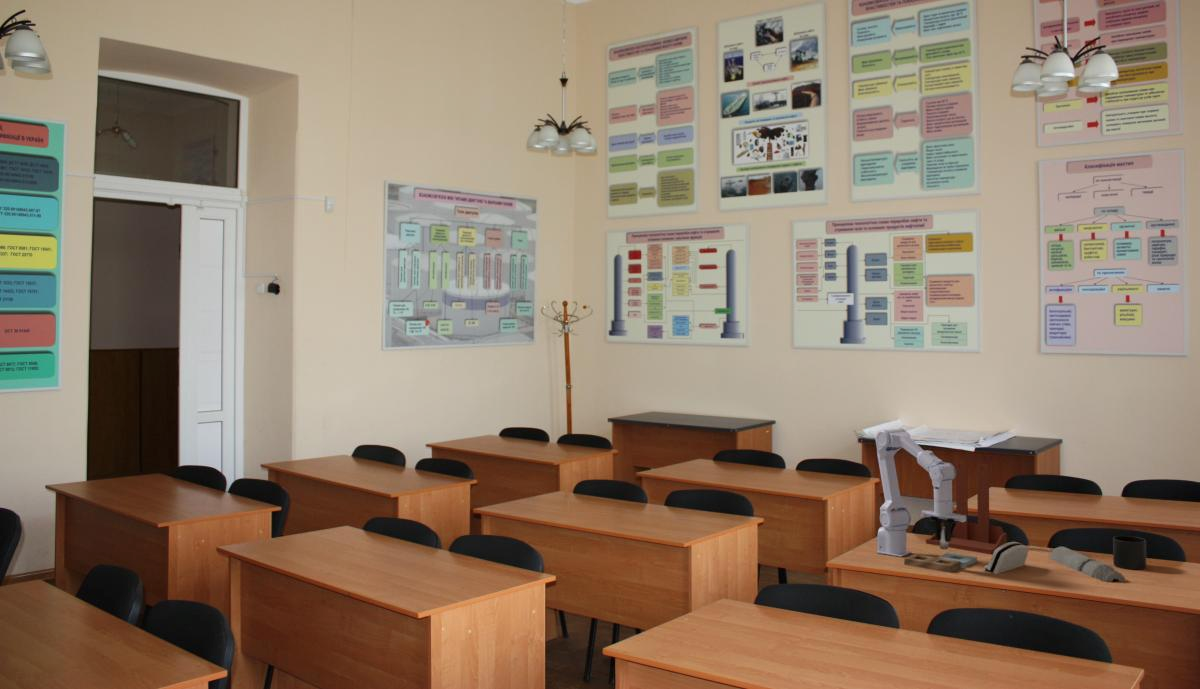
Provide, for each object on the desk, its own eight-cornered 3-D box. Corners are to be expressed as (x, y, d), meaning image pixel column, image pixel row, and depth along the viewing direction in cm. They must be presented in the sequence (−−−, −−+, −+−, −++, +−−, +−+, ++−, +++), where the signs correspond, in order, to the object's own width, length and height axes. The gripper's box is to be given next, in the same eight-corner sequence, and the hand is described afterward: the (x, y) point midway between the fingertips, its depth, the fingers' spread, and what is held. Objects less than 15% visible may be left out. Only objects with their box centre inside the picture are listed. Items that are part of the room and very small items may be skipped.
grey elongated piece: (1073, 546, 322) (1128, 568, 292) (1073, 558, 322) (1129, 582, 292) (1049, 547, 322) (1102, 570, 292) (1049, 559, 322) (1102, 583, 292)
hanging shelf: (926, 543, 346) (925, 463, 345) (943, 537, 355) (942, 458, 354) (990, 554, 328) (989, 469, 328) (1007, 548, 337) (1006, 465, 337)
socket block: (935, 562, 319) (935, 558, 319) (948, 556, 326) (948, 552, 326) (965, 567, 312) (964, 562, 312) (977, 561, 320) (977, 556, 319)
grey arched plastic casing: (1010, 562, 317) (1019, 536, 314) (1023, 569, 314) (1032, 543, 311) (982, 570, 308) (991, 544, 305) (994, 578, 304) (1004, 551, 301)
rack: (904, 564, 318) (904, 558, 318) (915, 559, 323) (914, 553, 323) (950, 572, 307) (950, 566, 306) (960, 567, 312) (960, 561, 312)
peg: (938, 548, 312) (938, 527, 312) (941, 547, 314) (941, 526, 314) (946, 549, 310) (946, 528, 310) (949, 548, 312) (949, 527, 312)
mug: (1127, 559, 317) (1127, 533, 317) (1152, 569, 305) (1152, 541, 305) (1102, 561, 316) (1101, 534, 316) (1126, 570, 304) (1126, 542, 304)
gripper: (969, 500, 309) (970, 541, 310) (927, 495, 320) (927, 535, 320) (960, 504, 304) (961, 545, 305) (918, 498, 314) (918, 539, 315)
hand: (943, 540), depth 312 cm, fingers closed on peg, 3 cm apart
